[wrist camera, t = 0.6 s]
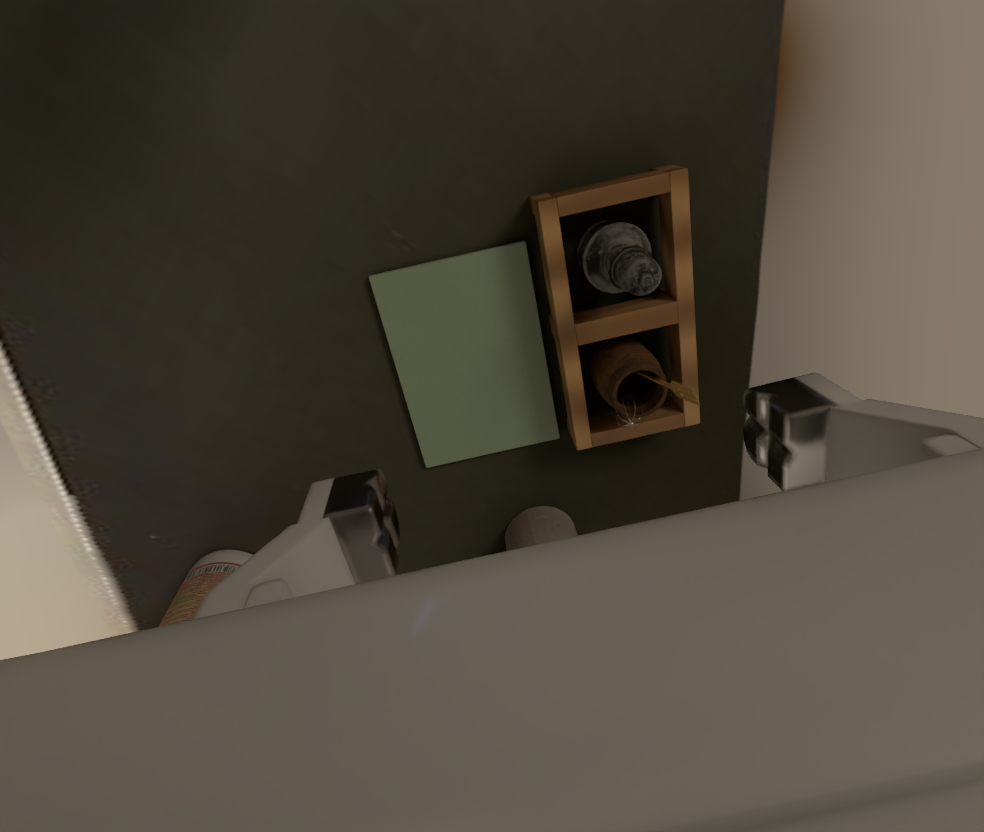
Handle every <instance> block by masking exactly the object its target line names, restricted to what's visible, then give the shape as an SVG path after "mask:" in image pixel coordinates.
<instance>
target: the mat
mask: <svg viewBox="0 0 984 832" xmlns="http://www.w3.org/2000/svg"><path fill="white" fill-rule="evenodd" d="M369 280H370V284H371V287H372V290H373V294H374V297H375V300H376V304H377V307H378V310H379V314H380V317H381V320H382V323H383V327H384V330H385V333H386V337H387V340H388V343H389V347H390V350H391V353H392V357H393V360H394V363H395V367H396V370H397V373H398V377H399V380H400V383H401V386H402V390H403V393H404V396H405V400H406V403H407V406H408V410H409V413H410V416H411V420H412V423H413V426H414V430H415V433H416V436H417V439H418V443H419V446H420V449H421V453H422V456H423V459H424V463H425V466H426V468H429V467H433V466H438V465H442V464H447V463H451V462H455V461H460V460H464V459H469V458H473V457H478V456H482V455H487V454H491V453H496V452H500V451H505V450H509V449H514V448H518V447H522V446H527V445H531V444H536V443H540V442H545V441H549V440H554V439H558V438H560V436H559V430H558V424H557V419H556V413H555V407H554V401H553V396H552V390H551V384H550V378H549V373H548V367H547V361H546V355H545V350H544V344H543V338H542V332H541V327H540V321H539V315H538V309H537V304H536V298H535V292H534V286H533V281H532V275H531V269H530V263H529V258H528V252H527V246H526V242H525V240H524V241H519V242H515V243H510V244H506V245H502V246H497V247H493V248H488V249H484V250H480V251H475V252H471V253H466V254H462V255H458V256H453V257H449V258H445V259H440V260H436V261H431V262H427V263H423V264H418V265H414V266H409V267H405V268H401V269H396V270H392V271H387V272H383V273H379V274H374V275H370V276H369Z"/></svg>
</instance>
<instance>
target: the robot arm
mask: <svg viewBox="0 0 984 832" xmlns="http://www.w3.org/2000/svg"><path fill="white" fill-rule="evenodd" d="M743 409H744V410H745V411H746V412H747V413H748V414H749V415H750V416H749V418H748V419H747V421H746V422H745V424H744V425H743V434H744V442H745V446H746V449H747V452H748V453H749V455H750V457H751V459H752V460H753V461H754V462H755V463H756V464H757V465H758V466H761V467H765V468H768V477H770V479H771V480H772V481H773V482H774V483H775V484H776V485H777V486H778V487H779V488H780V489H781V490H782V492H778V493H774V494H768V495H764V496H759V497H755V498H750V499H746V500H741V501H736V502H732V503H727V504H722V505H718V506H713V507H709V508H704V509H699V510H695V511H690V512H686V513H681V514H676V515H672V516H667V517H663V518H658V519H653V520H649V521H644V522H640V523H635V524H630V525H626V526H621V527H616V528H612V529H607V530H603V531H598V532H593V533H589V534H584V535H579V536H575V537H570V538H566V539H561V540H556V541H552V542H547V543H543V544H538V545H533V546H529V547H524V548H519V549H515V550H510V551H506V552H501V553H496V554H492V555H487V556H482V557H478V558H473V559H469V560H464V561H459V562H455V563H450V564H445V565H441V566H436V567H432V568H427V569H422V570H418V571H413V572H409V573H404V574H399V575H396V573H397V563H398V555H397V552H396V549H395V547H396V546H397V545H398V544H399V539H400V532H399V522H398V518H397V513H396V510H395V507H394V504H393V502H392V501H391V500H389V499H388V498H386V495H387V486H388V485H387V483H386V480H385V477H384V475H383V472H382V471H381V470H380V469H377V470H372V471H367V472H362V473H357V474H352V475H347V476H342V477H337V478H330V479H326V480H322V481H318V482H315V483H312V484H311V486H310V489H309V492H308V494H307V497H306V500H305V503H304V506H303V508H302V511H301V514H300V517H299V520H298V522H297V524H294V525H290V526H289V527H288V528H287V529H285V530H284V531H283V532H282V533H280V534H279V535H278V536H277V537H275V538H274V539H273V540H272V541H270V542H269V543H268V544H267V545H265V546H264V547H263V548H262V549H260V550H259V551H258V552H257V553H255V554H254V555H253V556H252V557H251V558H249V559H248V560H247V561H246V562H244V563H243V564H242V565H241V566H239V567H238V568H237V569H236V570H234V571H233V572H232V573H231V574H229V575H228V576H227V577H226V578H224V579H223V580H222V581H221V582H219V583H218V584H217V585H216V586H215V587H213V588H212V589H211V590H210V591H208V592H207V593H206V595H205V597H204V599H203V601H202V603H201V605H200V607H199V609H198V611H197V613H196V615H195V617H194V619H193V620H188V621H183V622H179V623H174V624H170V625H165V626H160V627H156V628H151V629H147V630H142V631H137V632H133V633H128V634H123V635H119V636H114V637H110V638H105V639H100V640H96V641H91V642H87V643H83V644H77V645H73V646H68V647H64V648H59V649H54V650H50V651H45V652H41V653H36V654H30V655H26V656H20V657H15V658H9V659H4V660H0V832H984V418H979V417H973V416H968V415H962V414H956V413H949V412H944V411H937V410H932V409H926V408H920V407H914V406H908V405H902V404H897V403H891V402H885V401H879V400H873V399H867V400H861V399H859V398H858V397H856V396H854V395H853V394H851V393H850V392H848V391H846V390H845V389H843V388H841V387H840V386H838V385H837V384H835V383H834V382H832V381H830V380H829V379H827V378H825V377H824V376H822V375H821V374H819V373H810V374H807V375H802V376H799V377H795V378H790V379H786V380H782V381H777V382H773V383H769V384H765V385H761V386H757V387H752V388H749V389H747V390H745V392H744V396H743Z"/></svg>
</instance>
